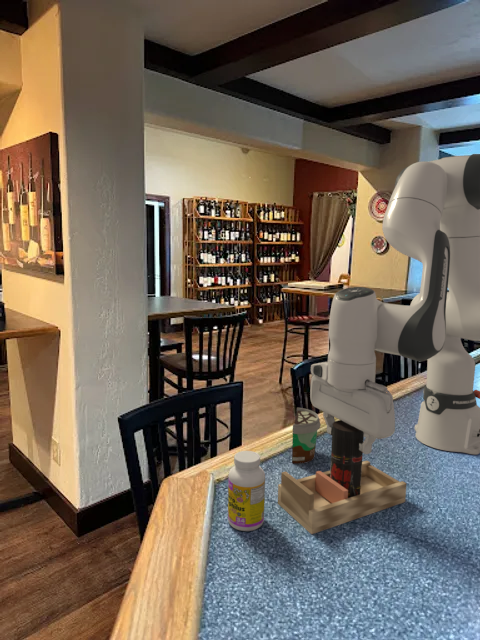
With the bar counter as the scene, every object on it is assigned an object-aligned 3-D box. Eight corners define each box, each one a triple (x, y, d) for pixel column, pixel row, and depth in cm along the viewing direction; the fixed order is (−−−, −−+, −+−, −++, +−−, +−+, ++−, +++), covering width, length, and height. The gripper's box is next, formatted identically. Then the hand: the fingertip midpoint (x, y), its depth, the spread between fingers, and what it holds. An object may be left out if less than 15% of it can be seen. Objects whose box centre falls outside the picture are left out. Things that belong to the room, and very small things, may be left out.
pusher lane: (366, 477, 101) (367, 447, 100) (405, 501, 92) (407, 469, 90) (277, 503, 90) (278, 470, 89) (311, 534, 81) (313, 497, 80)
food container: (318, 469, 105) (320, 427, 103) (291, 466, 106) (292, 425, 104) (320, 446, 117) (321, 408, 115) (295, 444, 118) (297, 406, 116)
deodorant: (325, 490, 94) (328, 420, 91) (354, 489, 94) (358, 419, 92) (334, 506, 88) (337, 432, 85) (364, 505, 88) (368, 431, 86)
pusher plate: (319, 489, 93) (320, 470, 93) (347, 510, 86) (348, 490, 85) (315, 490, 93) (315, 471, 92) (342, 511, 86) (343, 491, 85)
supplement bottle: (220, 519, 85) (221, 453, 83) (249, 507, 89) (250, 445, 87) (242, 537, 80) (243, 468, 78) (271, 524, 84) (273, 458, 81)
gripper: (405, 386, 79) (401, 461, 82) (330, 360, 97) (327, 422, 100) (378, 391, 77) (374, 469, 79) (305, 363, 94) (304, 427, 97)
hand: (347, 442), depth 89 cm, fingers open, 8 cm apart
